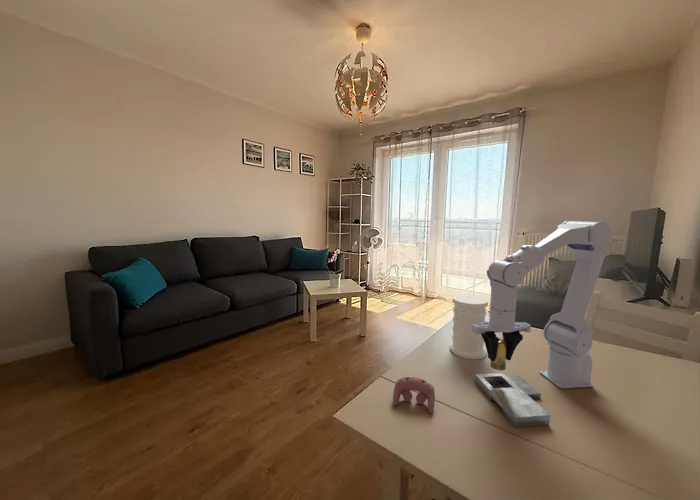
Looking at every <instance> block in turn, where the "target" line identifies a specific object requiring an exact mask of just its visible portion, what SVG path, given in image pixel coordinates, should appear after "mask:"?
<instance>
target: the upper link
mask: <svg viewBox="0 0 700 500" xmlns="http://www.w3.org/2000/svg"><path fill="white" fill-rule="evenodd" d="M508 377H509V376H507V375H506V374H505V373H504V372H496V373H478V374H477V373H476V374H474V380H475V379H476V380H477V381H478V382H479V383H480V385H481V386H482V387H483V388H484V389H485V390H486V391H487V392H488V393H489V394H490V396H491V397H492V398H493V399H494V400H495V401H494V402H496V403H497V405H498V406H499V407H500V408H501V409H502V410H503V417H505V418H506V420H507V421H509V423H510V424H511V425H512V426H513V427H514V428H527V427H528V428H529V427H530V428H531V427H539V426H542V427H543V426H544V427H545V426H550V421H551V420H550V418H551V414H549V412H547V411H546V410H545V409H544V407H541V406H540V405H539V404H538V403H537V401H535V400H534V399H532V398H530V397H529V396H528V395H527V394H526V393H525V392H524V391H523V390H521V389H520V388H519V387H518V386H517V385H516V384H515V383H514V382H513V381H511V380H510V379H509V378H508ZM494 380H501V381H502V382H503V383H504V384H506V385H507V386H508V387H509V388H504V387H499V388H498V387H497V388H496V387H495V388H494V387H493V385H490V384H489V383H488V382H487V381H494Z"/></svg>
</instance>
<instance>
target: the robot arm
mask: <svg viewBox="0 0 700 500" xmlns="http://www.w3.org/2000/svg"><path fill="white" fill-rule="evenodd" d="M613 237H614V233H613V230H612V228H611V227H610V225H609V224H608V223H607V222H606V221H602V220H600V221H583V220H582V221H580V220H579V221H577V220H576V221H575V220H569V219H568V220H565V221H564V222H562V223H561V224H558V225H557V226H556V229H555V231H553V232H552V233H551V234H549V235H547V236H546V237H545V238H544V239H542V240H541V241H539V242H538V243H536V244H535V245H533V244H524V245H521V246H520V247H519V249H518V250H516V251H515V252H514V253H512V254H508V255H506V256H505V258H504V259H497V260H494V261H493V262H492V263H491V264H490V265H489V267H488V269H486V276H487V278H488V279H489V286H490V301H489V304H490V305H489V316H488V317H489V321H486V322H484V323H479V324H472V332H473V333H475V334H480V333H481V335H482V337H483V340H484V344H485V348H486V354H487V358H488V359H489V360H491V361H495V359H496V349H497V345H498V342H499V340H500V339H501V338H500V339H499V337H498V336H497V333H501V334H502V339H503V340H506V341H507V354H506V361H511V360H512V357H513V355H514V352H515V350H516V348H517V346H519V344H520V343H521V341H523V338H524V335H523V334H522V333H521V332H525V333H531V330H532V329H531V328H532V324H530V323H527V322H521V321H520V322H519V321H515V320H516V312H517V311H516V308H517V297H518V296H517V294H518V286H519V285H521V284H522V283H523V281H524V279H525V277H526V276H528V273H530V272H531V271H534V269H536V268H538V267H540V266H541V265H543V264H544V262H545V257H547V256H548V255H550V254H552V253H554V252H556V251H558V250H560V249H562V248H563V247H565V246H566V247H567V248H568V249H569V250H570V251H571V252H573V253H574V254H575V256H576V257H577V259H576V261H575V265H574V268H573V272H572V275H571V278H570V282H569V285H568V288H567V291H566V294H565V297H564V300H563V304H562V307H561V310H560V312H557V313H554V314H552V315H550V318H549V320H548V321H547V323H546V324H545V326H544V328H543V337H544V339H545V340H546V341H547V343H546V344H547V345H548V346H549V349H548V350H549V351H548V362H547V370H539V374H540V375H542V376H544V377H545V378H547V380H548V381H550V382H551V383H553V384H555V386H557V387H558V388H560V389H573V388H575V389H576V388H590V387H593V386H594V384H593V383H591V381H592V380H591V379H592V370H593V359H592V356H591V355H590V353H589V351H591V349H592V346H593V334H594V329H593V327H592V326H591V325H590V323H589V322H588V321H587V320H586V316H587V313H588V310H589V306H590V304H591V300H592V297H593V294H594V291H595V288H596V285H597V283H598V282H597V281H598V279H599V276H600V273H601V268H602V267H603V263H604V260H605V256H607V255H608V252H609V248H610V245H611V243H612V239H613Z"/></svg>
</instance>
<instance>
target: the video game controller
mask: <svg viewBox="0 0 700 500" xmlns="http://www.w3.org/2000/svg"><path fill="white" fill-rule="evenodd" d="M411 391H416V392H418V393H417V394H416V396H415V402H416V403H418V404H419V405H423V404H425V402H426V401H427V408H428V412H429V414H433V412H434V409H435V402H436V398H435V397H436V394H435V388H434V386H433V385H432V383H430V382H428V381H427V380H424V379H422V378H419V377H415V376H408V377H407V376H406V377H403V376H402V377H400V378H399V379H397V381H396V382H395V385H394V388H393V395H392V405H393V406H394V407H396V406H397V405H398V404H399V401H400V398H401V395H402V398H403V400H404V401H405V402H411V401H412V400H413V393H412V392H411Z"/></svg>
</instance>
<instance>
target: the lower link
mask: <svg viewBox="0 0 700 500" xmlns="http://www.w3.org/2000/svg"><path fill="white" fill-rule="evenodd" d="M507 377H508V378H509V379H510V380H511V381H513V382H514V383H515V384H516V385H517V386H518V387H519V388H520V389H521V390H523V391H524V392H525V393H526V394H527V395H528V396H529V397H530V398H532V399H533V400H534V399H541V398H542V394H541V392H539V391H538V389H536V388H534V386H532V385H531V384H530V383H529V382H528V381H526V380H525V379H524V378H523V377H522V376H521V375H516V376H515V375H514V376H513V375H512V376H507ZM487 382H488V383H489V384H490V385H491V386H494V385H496V386H497V385H501V386H502V388H509V387H508V386H507V385H506V384H504V383H503V382H502V381H501V380H494V381H487ZM474 383H475V385H476V386H477V387H478V388H479V389H480V390H481V391H482V392H483V394H484V395H485V396H486V397H487V399H489V400H490V401H491V402H496V401H495V400H494V399H493V398H492V397H491V396H490V394H489V393H488V392H487V391H486V390H485V389H484V388H483V387H482V386H481V385H480V383H479V382H478V381H477V380H476V379H475V378H474Z"/></svg>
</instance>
